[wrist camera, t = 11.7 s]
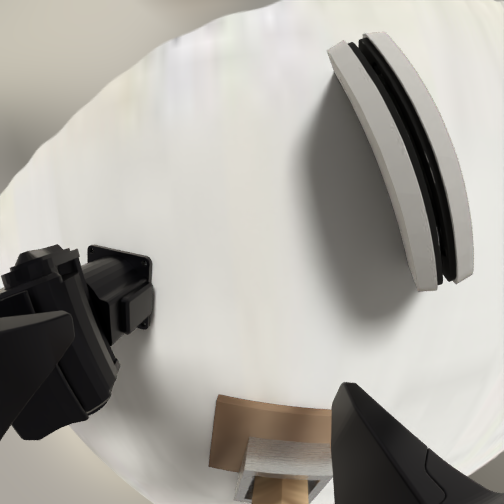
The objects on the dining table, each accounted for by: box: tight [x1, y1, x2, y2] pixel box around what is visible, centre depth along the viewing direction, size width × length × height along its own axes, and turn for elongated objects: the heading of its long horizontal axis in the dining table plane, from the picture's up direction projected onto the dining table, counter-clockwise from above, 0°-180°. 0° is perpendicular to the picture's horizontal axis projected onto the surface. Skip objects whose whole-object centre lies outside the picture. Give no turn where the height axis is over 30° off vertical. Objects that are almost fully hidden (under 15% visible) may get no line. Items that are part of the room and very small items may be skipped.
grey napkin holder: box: [327, 32, 474, 292], centre depth 14 cm, size 17×5×10 cm, turn 23°
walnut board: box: [209, 395, 332, 472], centre depth 23 cm, size 14×13×1 cm
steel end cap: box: [234, 437, 333, 504], centre depth 21 cm, size 8×8×4 cm
